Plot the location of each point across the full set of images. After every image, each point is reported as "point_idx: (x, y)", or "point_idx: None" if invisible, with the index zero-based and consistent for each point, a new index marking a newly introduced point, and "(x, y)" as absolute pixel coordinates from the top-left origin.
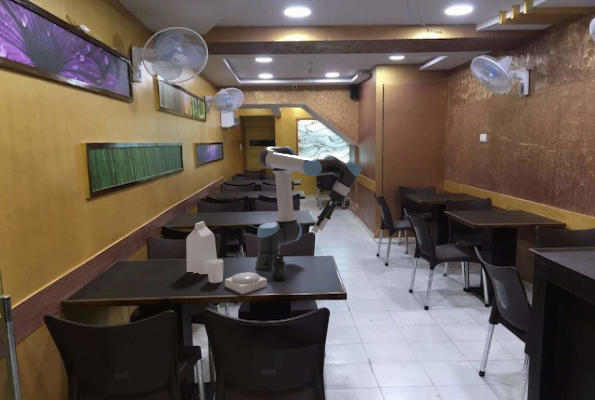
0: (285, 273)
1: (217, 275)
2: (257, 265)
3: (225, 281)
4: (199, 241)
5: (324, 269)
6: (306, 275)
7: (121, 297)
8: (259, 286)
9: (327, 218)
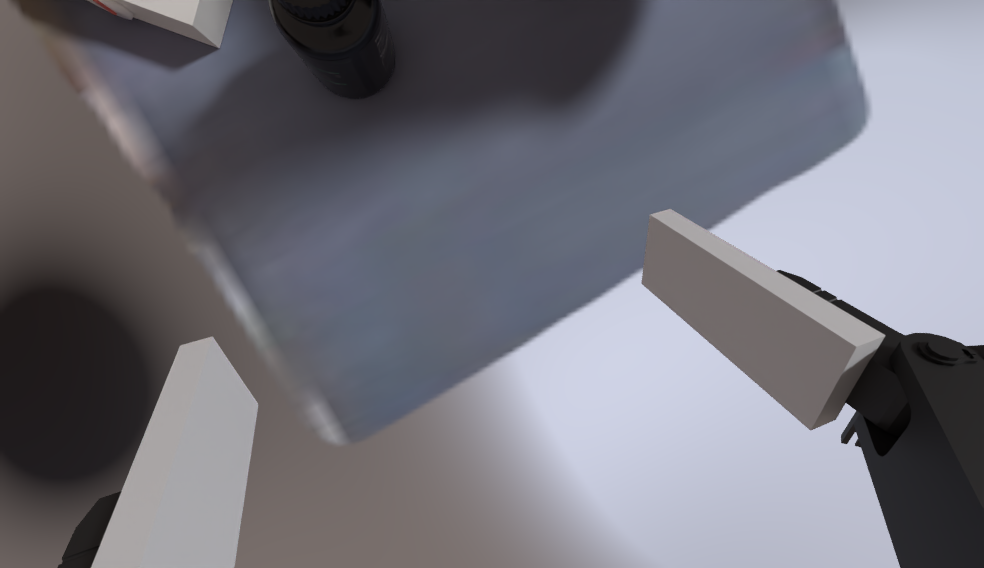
0: (355, 85)
1: None
2: None
3: None
4: None
5: (630, 222)
6: (491, 174)
7: None
8: (153, 21)
9: (855, 403)
